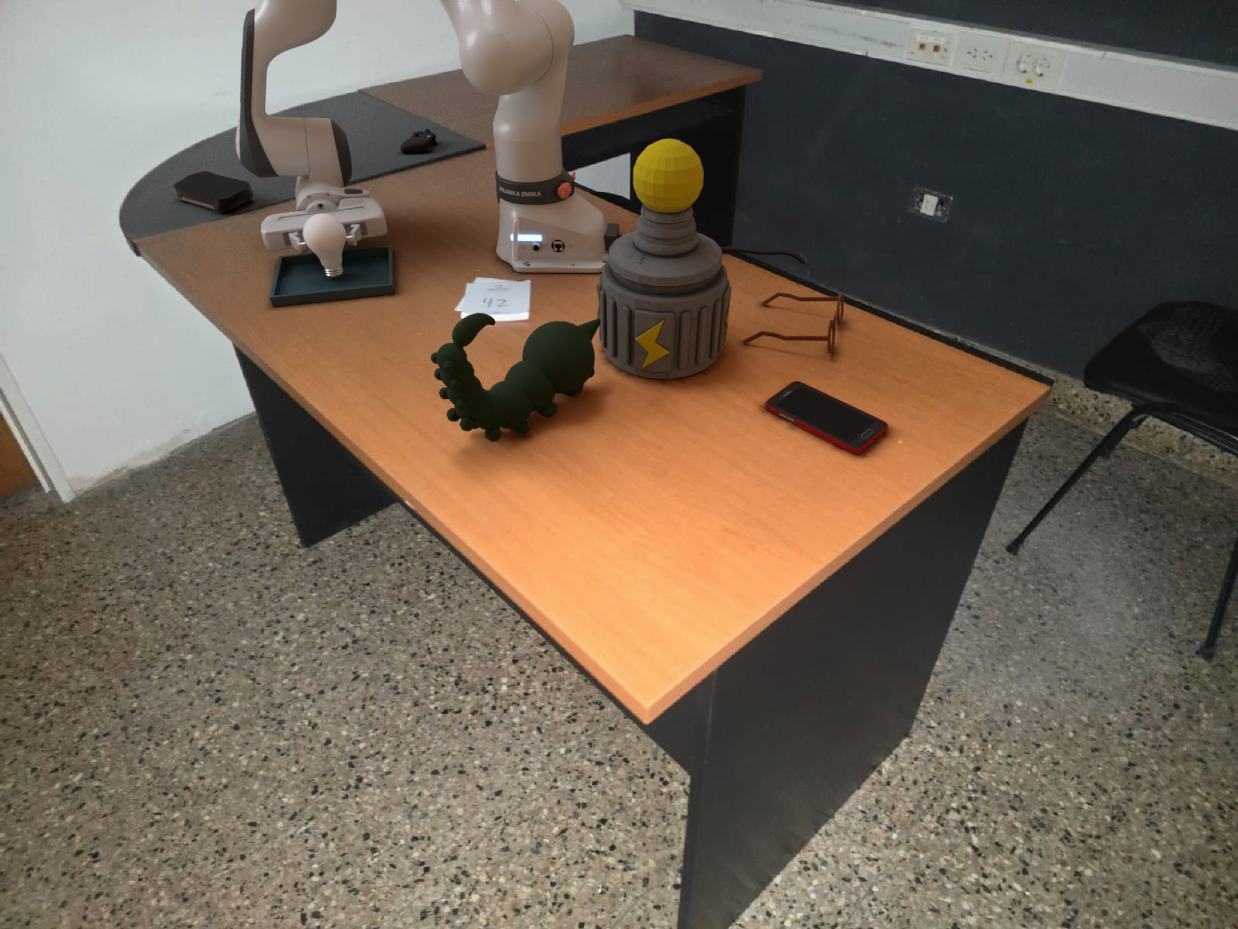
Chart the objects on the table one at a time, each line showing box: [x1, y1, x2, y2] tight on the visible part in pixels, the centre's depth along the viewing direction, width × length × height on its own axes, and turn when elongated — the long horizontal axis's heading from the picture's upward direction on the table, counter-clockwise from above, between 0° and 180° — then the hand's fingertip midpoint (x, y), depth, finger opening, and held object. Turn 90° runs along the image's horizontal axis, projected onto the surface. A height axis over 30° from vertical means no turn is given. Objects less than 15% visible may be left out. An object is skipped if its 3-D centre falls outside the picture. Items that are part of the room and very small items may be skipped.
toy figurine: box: [430, 312, 601, 443], centre depth 99 cm, size 9×19×25 cm
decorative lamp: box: [595, 138, 733, 380], centre depth 108 cm, size 19×19×30 cm
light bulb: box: [303, 214, 347, 278], centre depth 130 cm, size 7×7×11 cm
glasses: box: [742, 292, 845, 354], centre depth 119 cm, size 13×13×5 cm
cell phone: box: [764, 380, 889, 455], centre depth 103 cm, size 8×15×1 cm, turn 46°
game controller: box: [399, 128, 438, 154], centre depth 183 cm, size 10×5×6 cm
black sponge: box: [173, 170, 254, 213], centre depth 159 cm, size 16×8×4 cm, turn 59°
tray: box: [269, 244, 395, 308], centre depth 134 cm, size 19×15×2 cm
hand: (327, 245), depth 129 cm, fingers closed on light bulb, 6 cm apart
